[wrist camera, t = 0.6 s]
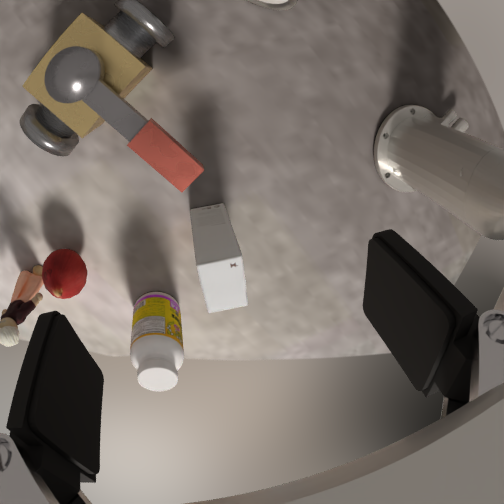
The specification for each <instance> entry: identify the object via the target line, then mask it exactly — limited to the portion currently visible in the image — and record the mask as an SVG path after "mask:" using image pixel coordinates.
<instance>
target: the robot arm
mask: <svg viewBox="0 0 504 504" xmlns="http://www.w3.org/2000/svg"><path fill="white" fill-rule="evenodd" d="M456 117H457V114H456V113H455V112H454V111H453V110H449V111H448V112H447V113H446V114H445V116H444V117H443V118H442V117H440V118H438V117H436V116H435V115H434V114H433V113H432V112H431V111H430V110H428V109H427V108H424V107H421V106H417V105H405V106H401V107H399V108H397V109H395V110H394V111H392V112H391V113H390V114H389V115H388V116H387V117H386V118H385V120H384V121H383V122H382V124H381V126H380V128H379V130H378V133H377V136H376V139H375V144H374V161H375V166H376V169H377V172H378V174H379V175H380V177H381V179H382V180H383V181H384V182H385V183H386V184H387V185H388V186H390V187H391V188H393V189H395V190H397V191H400V192H413V191H416V190H417V191H418V192H420V193H421V194H423V195H424V196H426V197H427V198H429V199H430V200H432V201H433V202H435V203H436V204H438V205H439V206H441V207H442V208H444V209H445V210H447V211H448V212H450V213H451V214H453V215H454V216H455V217H457V218H458V219H460V220H461V221H462V222H464V223H465V224H467V225H468V226H469V227H471V228H472V229H474V230H475V231H476V232H478V233H479V234H481V235H482V236H484V237H486V238H489V239H493V240H504V149H502V148H500V147H498V146H495V145H493V144H491V143H488V142H486V141H484V140H481V139H479V138H476V137H474V136H471V135H469V134H466V133H464V132H465V131H466V130H467V129H468V127H469V126H468V124H467V122H466V121H465V120H464V119H463V118H459V119H458V120H457V121H456V122H455V123H454V124H453V125H452V127H449V125H448V124H450V123H451V122H452V121H453V120H454V119H455V118H456ZM363 310H364V313H365V315H366V317H367V318H368V320H369V321H370V322H371V324H372V325H373V327H374V328H375V329H376V331H377V332H378V334H379V335H380V337H381V338H382V340H383V341H384V342H385V344H386V345H387V347H388V348H389V350H390V351H391V353H392V354H393V356H394V357H395V358H396V360H397V361H398V363H399V364H400V366H401V367H402V369H403V370H404V372H405V373H406V375H407V376H408V378H409V380H410V381H411V383H412V384H413V386H414V387H415V388H416V390H418V391H422V392H423V393H424V395H425V397H428V396H430V395H432V394H434V393H436V392H438V391H441V392H442V394H443V395H444V401H443V407H442V413H441V419H440V420H438V421H436V422H434V423H432V424H431V425H429V426H427V427H425V428H423V429H421V430H419V431H417V432H416V433H413V434H411V435H410V436H408V437H406V438H403V439H401V440H399V441H397V442H395V443H393V444H391V445H389V446H387V447H384V448H382V449H380V450H378V451H375V452H373V453H371V454H368V455H366V456H364V457H361V458H359V459H356V460H354V461H351V462H349V463H346V464H344V465H341V466H338V467H335V468H332V469H330V470H327V471H324V472H321V473H318V474H315V475H312V476H309V477H306V478H303V479H300V480H296V481H293V482H289V483H286V484H282V485H278V486H275V487H271V488H267V489H262V490H258V491H254V492H250V493H246V494H241V495H235V496H231V497H225V498H219V499H213V500H207V501H200V502H194V503H185V504H504V288H503V290H502V292H501V294H500V296H499V298H498V300H497V303H496V305H495V308H494V310H489V311H486V312H485V313H483V314H482V315H481V317H479V316H478V315H477V314H476V313H477V308H475V306H474V305H473V304H472V303H471V302H470V301H469V300H468V299H467V298H466V297H465V296H464V295H463V294H462V293H461V292H460V291H459V290H458V289H457V288H456V287H455V286H454V285H453V284H452V283H451V282H450V281H449V280H448V279H447V278H446V277H445V276H444V275H442V274H441V273H440V272H439V271H438V270H437V269H436V268H435V267H434V266H433V265H432V264H431V263H430V262H429V261H428V260H426V259H425V258H424V257H423V256H422V255H421V254H420V253H419V252H418V251H417V250H415V249H414V248H413V247H412V246H411V245H410V244H409V243H408V242H406V241H405V240H404V239H403V238H402V237H401V236H400V235H398V234H397V233H396V232H395V231H394V230H392V229H389V230H385V231H382V232H378V233H375V234H374V235H373V237H372V239H371V240H369V244H368V257H367V269H366V280H365V290H364V299H363ZM103 382H104V379H103V374H102V371H101V370H100V368H99V367H98V365H97V364H96V362H95V361H94V359H93V358H92V357H91V355H90V354H89V352H88V351H87V349H86V348H85V346H84V345H83V343H82V342H81V340H80V339H79V337H78V336H77V334H76V332H75V331H74V329H73V328H72V326H71V324H70V323H69V321H68V320H67V318H66V317H65V315H63V314H60V313H59V312H58V311H52V312H48V313H43V314H41V315H40V316H39V317H38V320H37V323H36V325H35V328H34V331H33V334H32V337H31V339H30V342H29V346H28V348H27V351H26V355H25V358H24V361H23V364H22V367H21V371H20V374H19V378H18V381H17V385H16V389H15V392H14V396H13V400H12V404H11V409H10V413H9V417H8V422H7V429H9V430H10V436H8V435H7V434H3V433H0V504H92V503H91V502H90V501H89V499H88V498H87V497H86V496H85V495H84V493H83V492H82V491H81V489H80V482H96V474H97V473H99V469H100V427H101V410H102V396H103Z"/></svg>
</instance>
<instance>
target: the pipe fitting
mask: <svg viewBox="0 0 504 504" xmlns="http://www.w3.org/2000/svg"><path fill="white" fill-rule="evenodd" d="M246 1H248V2H251V3H253V4H256V5H259V6H262V7H265V8H268V9H273V10H289V9H291V8H292V7H294V6H295V4H296V3H297V1H298V0H246Z"/></svg>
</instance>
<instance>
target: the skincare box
mask: <svg viewBox="0 0 504 504" xmlns="http://www.w3.org/2000/svg"><path fill="white" fill-rule="evenodd" d="M190 216H191V224H192V233H193V241H194V250H195V258H196V266H197V271H198V276H199V280H200V284H201V288H202V292H203V296H204V299H205V303H206V307H207V311H208V313H212V312H217V311H222V310H227V309H232V308H237V307H243V306H247V305H248V298H247V290H246V279H245V272H244V265H243V258H242V253H241V250H240V247H239V244H238V242H237V239H236V236H235V233H234V231H233V228H232V225H231V222H230V219H229V216H228V213H227V211H226V208H225V205H224V203H222V204H216V205H211V206H205V207H200V208H194V209H191V210H190Z"/></svg>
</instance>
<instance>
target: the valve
mask: <svg viewBox="0 0 504 504" xmlns="http://www.w3.org/2000/svg"><path fill="white" fill-rule="evenodd" d="M114 5H115V6H116V7H117V8H118V9H119V10H120V12H119V13H118V14H117V15H116V16H115V17H114V18H113V19H112V20H111V21H110V22H109V23H108V24H107V25H106V26H105V27H104V26H103V25H101V24H100V23H98V22H97V21H95V20H93V19H92V18H90V17H88V16H87V15H85V14H84V13H81V14H80V15H79V16H78V17H77V18H76V19H75V20H74V22H73V23H72V24H71V25H70V26H69V27H68V28H67V29H66V31H65V32H64V33H63V34H62V35H61V36H60V37H59V39H58V40H57V41H56V42H55V43H54V45H53V46H52V47H51V48H50V50H49V51H48V52H47V53H46V55H45V56H44V57H43V58H42V60H41V61H40V62H39V64H38V65H37V66H36V68H35V69H34V70H33V72H32V73H31V75H30V76H29V77H28V79H27V80H26V82H25V83H24V85H23V87H24V88H25V89H26V90H27V91H28V92H29V93H31V94H32V95H33V96H34V97H35V98H36V99H37V100H39V101H40V102H41V104H40V105H38V104H31V105H29V106H28V108H27V109H26V111H25V112H24V114H23V115H22V117H21V118H20V126H21V128H22V130H23V132H24V133H25V135H26V136H27V137H28V138H29V139H30V140H31V141H32V142H33V143H34V144H36V145H37V146H38V147H40V148H41V149H43V150H45V151H47V152H49V153H51V154H54V155H57V156H68V155H69V154H70V153H71V152H72V150H73V149H74V148H75V146H76V145H77V144H78V142H79V138H78V135H79V136H80V137H81V138H83V137H85V136H86V135H87V134H89V133H90V132H92V131H93V130H94V129H96V128H97V127H99V126H100V125H101V124H102V123H103V122H104V121H105V120H104V119H103V118H102V117H101V116H99V115H98V114H97V113H96V112H95V111H94V110H92V109H91V108H90V107H89V106H88V105H87V104H86V103H84V102H83V101H82V100H81V101H77V102H74V103H60V102H58V101H56V100H54V99H53V98H52V97H51V96H50V95H49V94H48V92H47V90H46V87H45V81H44V78H45V71H46V68H47V66H48V64H49V62H50V61H51V59H52V58H53V57H54V56H55V55H56V54H57V53H58V52H60V51H61V50H63V49H65V48H68V47H72V46H80V47H84V48H88V49H91V50H94V51H95V52H97V53H98V54H99V55H100V57H101V58H102V60H103V62H104V66H105V74H104V79H103V81H104V82H105V83H106V84H107V85H108V86H109V87H111V88H112V89H113V90H114V91H115V92H116V93H117V94H119V95H120V96H121V97H122V98H123V99H124V98H125V97H126V96H127V95H128V94H129V93H130V92H131V91H132V89H133V88H134V87H135V86H136V85H137V84H138V83H139V82H140V81H141V80H142V79H143V78H144V77H145V76H146V75H147V74H148V73H149V72H150V71H151V70H152V68H151V67H150V66H149V65H148V64H147V63H146V62H145V61H143V60H142V59H141V58H140V57H141V56H142V55H143V54H144V53H145V52H146V51H147V50H148V49H149V48H150V47H152V46H153V45H154V44H155V43H156V42H157V43H158V44H159V45H161V46H162V47H163V48H164V47H165V46H167V45H168V44H169V43H170V42H171V41H172V40H173V39H174V38H175V37H174V35H173V34H172V32H171V31H170V30H169V29H168V28H167V27H166V26H165V25H164V24H163V23H162V22H161V21H160V20H159V19H158V18H157V17H156V16H155V15H154V14H152V13H151V12H150V11H149V10H148V9H147V8H145V7H144V6H143V5H142V4H141V3H139V2H138V1H137V0H118V1H117V2H116V3H115V4H114ZM77 134H78V135H77Z"/></svg>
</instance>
